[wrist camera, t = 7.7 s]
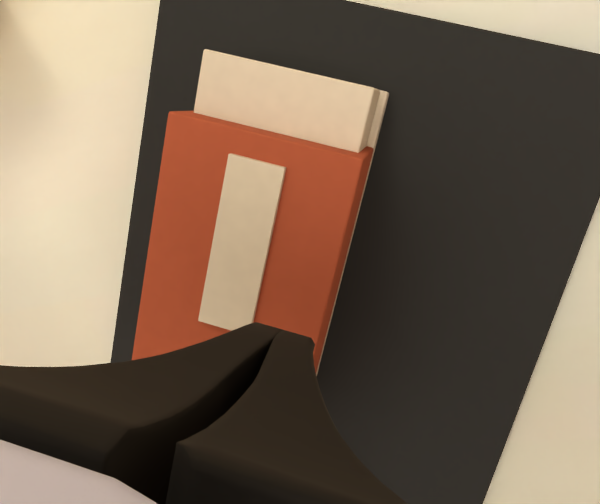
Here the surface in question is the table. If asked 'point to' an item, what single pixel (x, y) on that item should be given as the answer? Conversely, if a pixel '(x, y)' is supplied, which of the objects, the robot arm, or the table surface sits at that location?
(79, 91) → the table surface
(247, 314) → the book in orange sleeve
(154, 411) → the robot arm
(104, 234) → the table surface
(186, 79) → the mat
